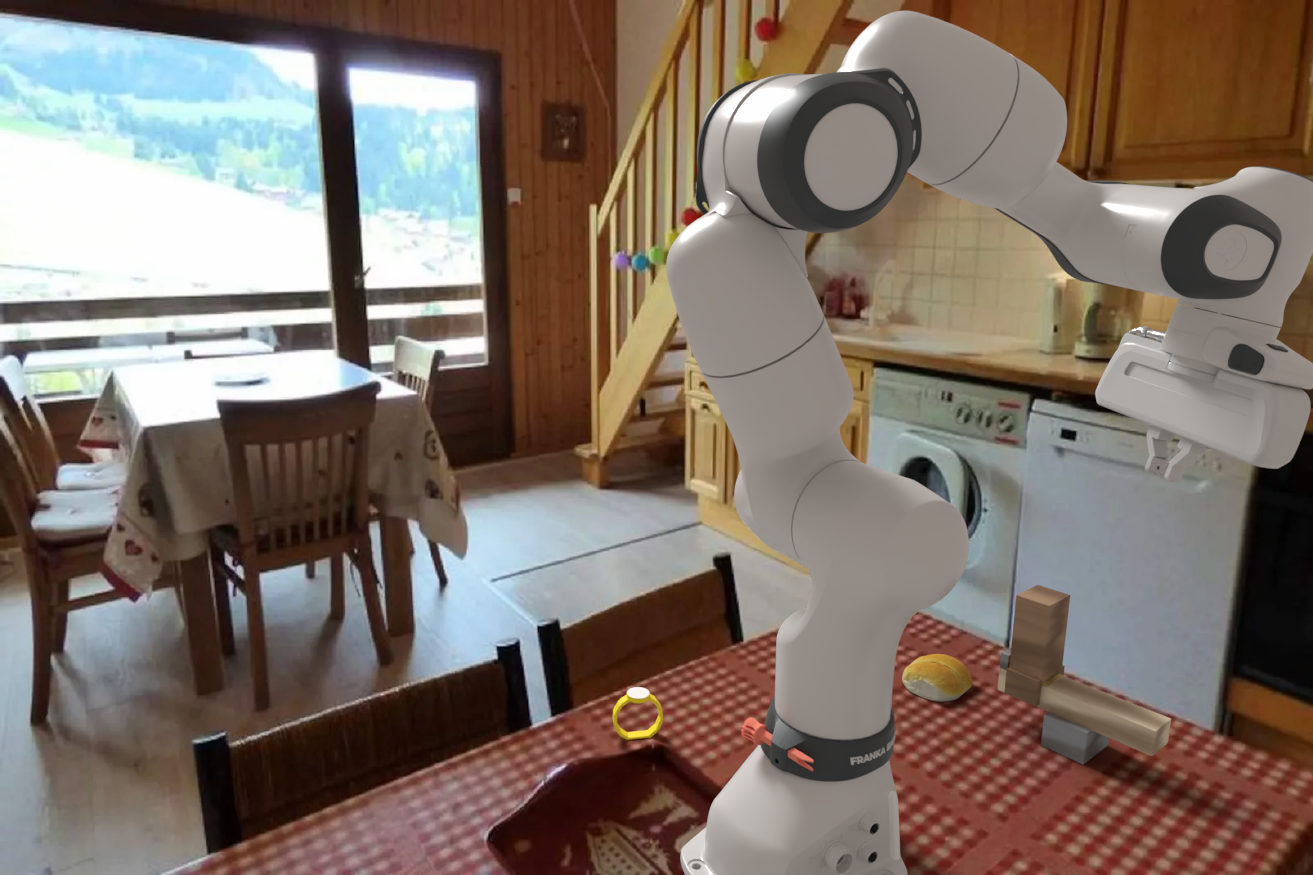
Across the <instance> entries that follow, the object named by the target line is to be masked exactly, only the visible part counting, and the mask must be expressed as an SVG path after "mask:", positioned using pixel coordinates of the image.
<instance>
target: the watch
mask: <svg viewBox="0 0 1313 875" xmlns="http://www.w3.org/2000/svg"><path fill="white" fill-rule="evenodd" d="M649 690H650V689H647V688H645V687H640V686H634V687H631V688H628V689H627V691H626V694H625V695H624V696H622V697H620V698H619V699H618V701H617V702H616V703H615V705H614V707H613V709H612V723H613V727H614V730H615V731H616V732H617V735H618V736H619V737H621V738H623V739H625V740H626V741H632V740H638V739H651V738H652V737H654V735H656V733H658V732H659V730H660V729H661V727H662V724H663V723H664V712H663V711H664V710H663V708H662V704H661V702H659V700H658V699H657V698H656V696H655V695H653V694H651V692H650V691H649ZM646 702H650V703H652V704H653V705H655V707H656V709H657V712H658V715H657V718H656V720H655V722H654V723H653V724H652V725H651V726H650V727H649V728H648V729H645V730H636V731H626V730H625V729H623V728H622V727H621V726H620V725H619V722H618V715H619V713H620V712H621V710H622V708H623V707H624V706H625V705H627V704H629V703H632V704H644V703H646Z"/></svg>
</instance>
